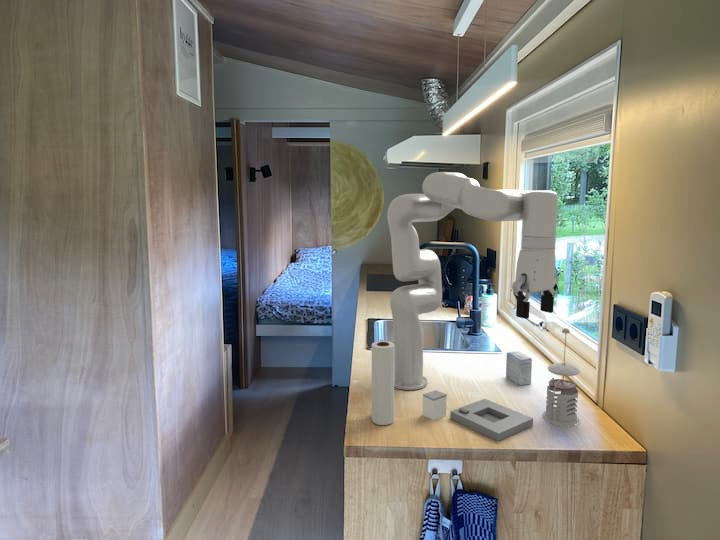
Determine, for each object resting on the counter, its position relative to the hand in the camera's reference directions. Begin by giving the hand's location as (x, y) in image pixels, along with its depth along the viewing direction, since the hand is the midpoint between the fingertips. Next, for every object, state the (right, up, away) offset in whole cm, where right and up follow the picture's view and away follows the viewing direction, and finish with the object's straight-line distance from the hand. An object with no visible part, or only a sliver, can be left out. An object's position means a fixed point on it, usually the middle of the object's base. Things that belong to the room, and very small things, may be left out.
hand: (534, 314), depth 121 cm
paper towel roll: (-36, -30, +14) cm, 49 cm away
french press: (+11, -30, +14) cm, 35 cm away
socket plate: (-7, -30, +13) cm, 33 cm away
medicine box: (+9, -25, +42) cm, 50 cm away
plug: (-22, -29, +17) cm, 40 cm away
